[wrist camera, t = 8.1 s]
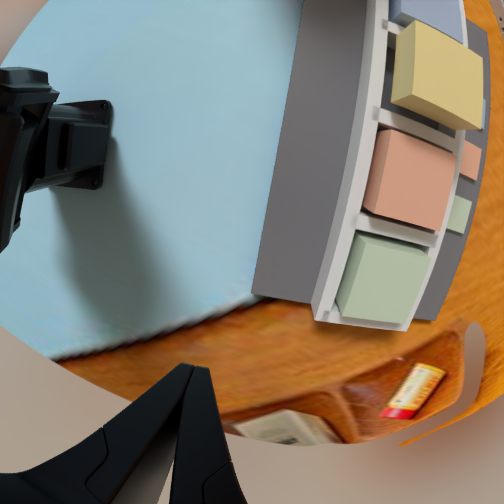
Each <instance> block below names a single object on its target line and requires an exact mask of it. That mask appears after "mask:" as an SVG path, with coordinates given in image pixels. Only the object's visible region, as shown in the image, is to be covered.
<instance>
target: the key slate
mask: <svg viewBox="0 0 504 504" xmlns="http://www.w3.org/2000/svg"><path fill="white" fill-rule="evenodd" d="M414 20H417V21H419V22H421V23H424V24H426V25H428V26H430V27H432V28H434V29H435V30H437V31H439V32H441V33H443V34H445V35H447V36H448V37H450V38H452V39H454V40H455V41H457V42H459V43H460V44H463V31H462V21H461V12H460V5H459V0H389V6H388V21H390V22H392V23H395V24H397V25H400V26H402V27H404V28H406V27H407V26H409V25H410V24H411V23H412V22H413V21H414Z"/></svg>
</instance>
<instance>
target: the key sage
mask: <svg viewBox="0 0 504 504" xmlns="http://www.w3.org/2000/svg"><path fill="white" fill-rule="evenodd" d="M430 261H431V258H430V257H429V256H428V255H427V254H425V253H424V252H423V251H421V250H420V249H419V248H418V247H416V246H415V245H414V244H411V243H407V242H403V241H399V240H395V239H391V238H386V237H382V236H378V235H374V234H369V233H365V232H361V231H356V230H355V233H354V236H353V240H352V244H351V247H350V251H349V254H348V258H347V261H346V264H345V268H344V271H343V274H342V278H341V281H340V284H339V287H338V290H337V293H336V296H335V298H336V301H337V304H338V306H339V309H340V312H341V315H342V316H346V317H353V318H360V319H368V320H376V321H384V322H393V323H401V324H405V323H406V321H407V319H408V316H409V314H410V312H411V310H412V307H413V305H414V303H415V300H416V298H417V295H418V293H419V290H420V288H421V285H422V283H423V280H424V278H425V275H426V272H427V269H428V267H429V264H430Z"/></svg>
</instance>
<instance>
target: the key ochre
mask: <svg viewBox="0 0 504 504" xmlns="http://www.w3.org/2000/svg"><path fill="white" fill-rule="evenodd" d="M391 103H393V104H396V105H399V106H401V107H404V108H406V109H409V110H411V111H414V112H416V113H418V114H421V115H423V116H425V117H428V118H430V119H432V120H434V121H436V122H439V123H441V124H443V125H445V126H447V127H449V128H451V129H453V130H475V129H481V125H482V111H483V58H482V57H480V56H479V55H477V54H476V53H474V52H473V51H471V50H470V49H468V48H467V47H465V46H464V45H462V44H460V43H459V42H457V41H455V40H454V39H452V38H450V37H448V36H447V35H445V34H443V33H441V32H439V31H437V30H435V29H434V28H432V27H430V26H428V25H426V24H424V23H421V22H419V21H417V20H414V21H413V22H412V23H411V24H410V25H409V26H407V27H406V28H405V29H404V30H403V31H402V32H400V33H399V34H398V35H397V36H396V52H395V65H394V76H393V86H392V95H391Z"/></svg>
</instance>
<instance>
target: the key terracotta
mask: <svg viewBox="0 0 504 504" xmlns="http://www.w3.org/2000/svg"><path fill="white" fill-rule="evenodd" d="M456 160H457V156H455V155H453V154H451V153H449V152H447V151H444V150H442V149H440V148H438V147H435V146H433V145H431V144H428V143H426V142H423V141H421V140H418V139H416V138H413V137H411V136H408V135H406V134H403V133H400V132H397V131H395V130H392V129H391V130H385V131H379V132H376V138H375V143H374V149H373V154H372V159H371V164H370V169H369V174H368V179H367V183H366V188H365V192H364V197H363V201H362V206H363V207H365V208H367V209H368V210H370V211H371V212H373V213H375V214H379V215H382V216H386V217H390V218H394V219H398V220H401V221H405V222H408V223H412V224H415V225H419V226H422V227H426V228H429V229H433V230H436V231H439V232H440V230H441V226H442V223H443V219H444V215H445V211H446V208H447V204H448V199H449V195H450V191H451V186H452V181H453V176H454V171H455V166H456Z"/></svg>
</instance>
